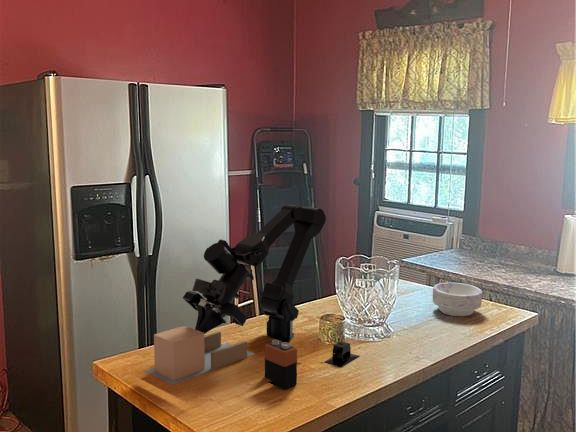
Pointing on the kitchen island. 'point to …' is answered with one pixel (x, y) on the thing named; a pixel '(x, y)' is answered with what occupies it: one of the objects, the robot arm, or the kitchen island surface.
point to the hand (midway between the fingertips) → (195, 337)
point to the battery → (281, 364)
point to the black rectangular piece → (341, 355)
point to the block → (179, 352)
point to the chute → (213, 356)
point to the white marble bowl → (457, 298)
